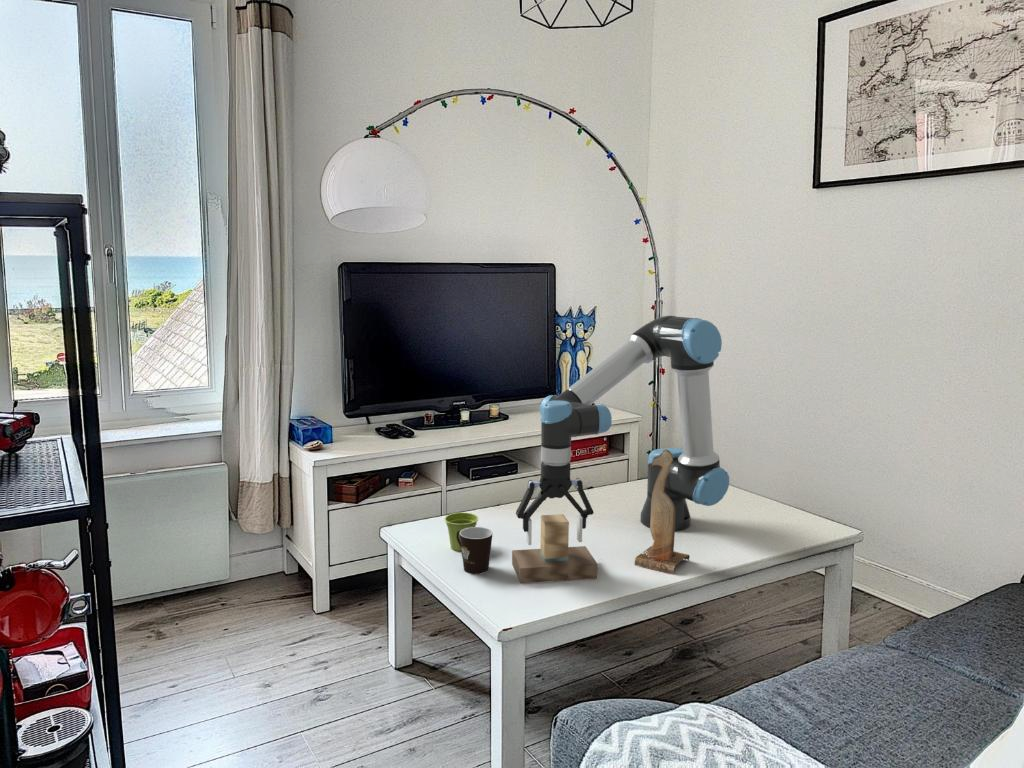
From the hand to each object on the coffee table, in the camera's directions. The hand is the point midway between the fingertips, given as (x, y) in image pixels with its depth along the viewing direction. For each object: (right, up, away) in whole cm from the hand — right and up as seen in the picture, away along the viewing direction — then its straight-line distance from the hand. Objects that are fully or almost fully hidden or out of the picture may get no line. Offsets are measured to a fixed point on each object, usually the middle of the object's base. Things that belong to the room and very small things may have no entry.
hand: (554, 541), depth 203 cm
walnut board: (0, -8, +1) cm, 8 cm away
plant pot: (-25, -5, +17) cm, 31 cm away
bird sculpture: (+29, -7, +7) cm, 31 cm away
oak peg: (0, -8, +1) cm, 8 cm away
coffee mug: (-21, -8, +4) cm, 22 cm away
